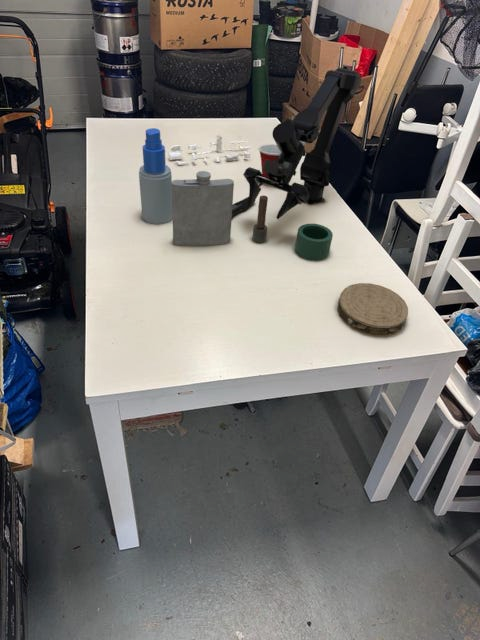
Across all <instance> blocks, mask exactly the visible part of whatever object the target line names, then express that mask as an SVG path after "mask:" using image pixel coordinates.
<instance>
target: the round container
mask: <svg viewBox="0 0 480 640" xmlns="http://www.w3.org/2000/svg"><path fill="white" fill-rule="evenodd" d="M333 237H334V235H333V232H332V230H331V229H329V228H328V227H327V226H325V225H323V224H318V223H305V224H302V225H300V226H299V227H298V228H297V233H296V237H295V238H296V239H295V243H294V244H295V245H294V252H295V254H296V255H297V256H299V258H302V259H304V260H308V261H313V262H315V261H316V262H317V261H322V260H325V259H326V258H327V257H328V256H329V253H330V249H331V246H332V245H331V244H332V241H333Z"/></svg>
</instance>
